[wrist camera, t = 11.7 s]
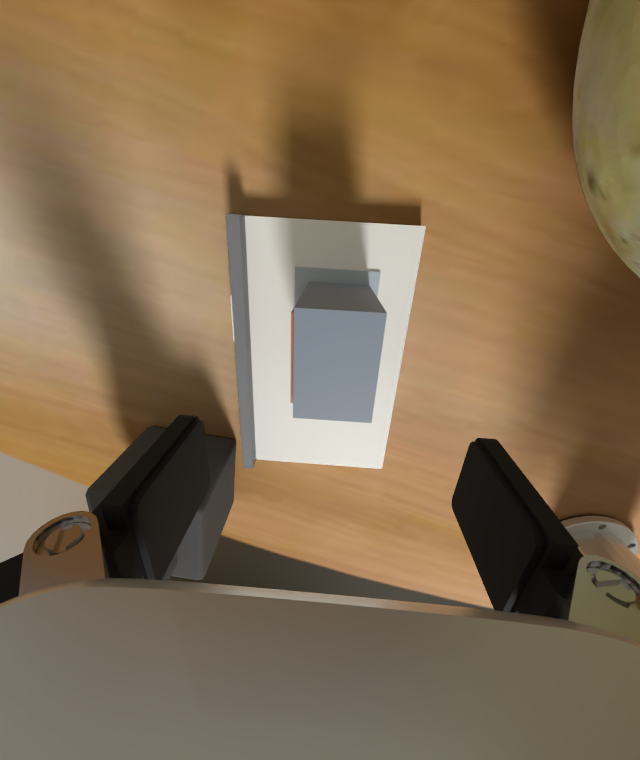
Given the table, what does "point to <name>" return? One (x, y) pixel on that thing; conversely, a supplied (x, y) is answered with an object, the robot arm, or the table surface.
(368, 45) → the table surface
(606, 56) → the speckled stone ball
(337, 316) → the box
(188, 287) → the table surface
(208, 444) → the sculpture
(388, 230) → the shelf board
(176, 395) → the table surface
